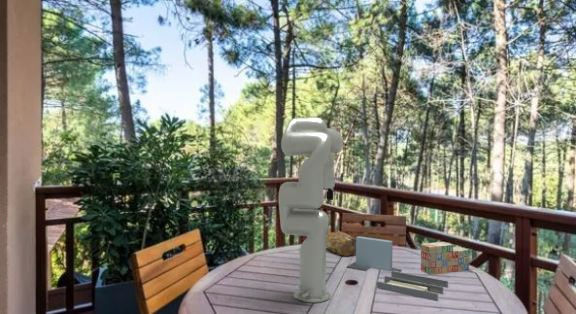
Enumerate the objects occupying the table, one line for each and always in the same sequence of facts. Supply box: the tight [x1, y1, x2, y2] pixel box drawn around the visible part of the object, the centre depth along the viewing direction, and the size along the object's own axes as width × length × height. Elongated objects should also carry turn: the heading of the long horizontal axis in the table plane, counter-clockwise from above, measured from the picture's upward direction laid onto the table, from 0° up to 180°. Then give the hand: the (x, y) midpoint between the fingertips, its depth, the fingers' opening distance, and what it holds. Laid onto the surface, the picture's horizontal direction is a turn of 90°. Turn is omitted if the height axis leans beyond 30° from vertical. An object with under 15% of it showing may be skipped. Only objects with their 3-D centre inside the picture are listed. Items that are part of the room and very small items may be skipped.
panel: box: [355, 236, 394, 272], centre depth 172 cm, size 3×16×13 cm, turn 56°
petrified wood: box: [326, 230, 356, 257], centre depth 201 cm, size 19×13×10 cm
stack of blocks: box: [420, 241, 470, 276], centre depth 171 cm, size 21×6×12 cm, turn 109°
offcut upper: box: [387, 281, 429, 292], centre depth 144 cm, size 4×14×2 cm, turn 57°
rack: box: [376, 270, 449, 302], centre depth 147 cm, size 17×22×3 cm
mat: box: [346, 261, 403, 273], centre depth 172 cm, size 10×22×1 cm, turn 56°
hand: (324, 200), depth 176 cm, fingers open, 9 cm apart
